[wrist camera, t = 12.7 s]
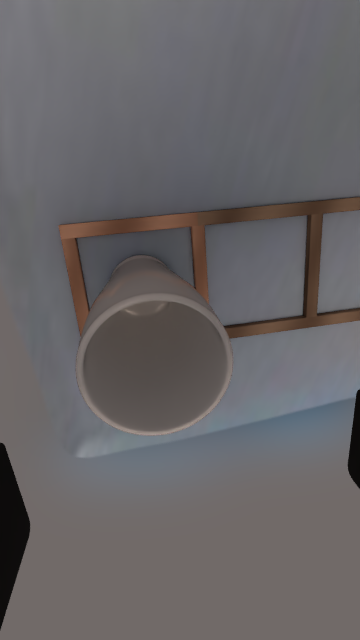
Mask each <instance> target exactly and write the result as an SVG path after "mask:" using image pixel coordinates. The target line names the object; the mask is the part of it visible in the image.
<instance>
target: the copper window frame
mask: <svg viewBox="0 0 360 640" xmlns="http://www.w3.org/2000/svg"><path fill="white" fill-rule="evenodd" d="M354 210H360V197H354V198H343V199H333V200H322V201H311V202H301V203H290V204H279V205H268V206H258V207H247V208H236V209H226V210H215V211H204V212H193V213H183V214H172V215H161V216H151V217H140V218H129V219H118V220H108V221H97V222H86V223H76V224H65V225H59V230H60V235H61V240H62V245H63V250H64V255H65V260H66V265H67V271H68V276H69V281H70V286H71V291H72V296H73V301H74V306H75V311H76V316H77V321H78V326H79V331H80V336H81V334H82V330H83V327H84V324H85V321H86V318H87V316H88V313H89V305H88V300H87V294H86V289H85V283H84V278H83V273H82V267H81V262H80V256H79V251H78V245H77V240H76V238H79V237H89V236H99V235H109V234H119V233H130V232H140V231H150V230H160V229H170V228H181V227H191V240H192V254H193V269H194V283H195V289H196V290H197V291H198V292H199V293H200V294H201V295H202V296H203V298H204V299H205V300H206V301H207V302H208V304H209V300H208V282H207V264H206V246H205V228H204V225H211V224H221V223H231V222H242V221H252V220H262V219H272V218H282V217H293V216H303V215H308V221H307V243H306V265H305V287H304V309H303V316H297V317H289V318H282V319H275V320H267V321H260V322H252V323H245V324H237V325H230V326H223V327H224V328H225V330H226V332H227V334H228V336H229V339H230V338H237V337H244V336H251V335H259V334H266V333H273V332H280V331H287V330H294V329H302V328H309V327H316V326H323V325H330V324H337V323H345V322H352V321H359V320H360V308H356V309H349V310H341V311H334V312H326V313H319V314H317V304H318V287H319V271H320V254H321V238H322V221H323V213H333V212H343V211H354Z"/></svg>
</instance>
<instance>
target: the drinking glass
mask: <svg viewBox="0 0 360 640" xmlns="http://www.w3.org/2000/svg"><path fill="white" fill-rule="evenodd" d="M232 371H233V351H232V346H231V342H230V339H229V336H228V334H227V332H226V330H225V328H224V327H223V325H222V323H221V322H220V320H219V318H218V317H217V315H216V314H215V312H214V311H213V309H212V308H211V306H210V305H209V304H208V302H207V301H206V300H205V299H204V298H203V296H202V295H201V294H200V293H199V292H198V291H197V290H196V289H195V288H194V287H193V286H191V285H190V284H189V283H188V282H187V281H185V280H184V279H182V278H181V277H180V276H178V275H177V274H175V273H174V272H172V271H171V270H170V269H169V268H168V267H167V266H166V265H165V264H164V263H163V262H162V261H160V260H158V259H157V258H154V257H151V256H147V255H137V256H132V257H129V258H127V259H125V260H124V261H122V262H121V263H120V264H119V265H118V266H117V267H116V268H115V269H114V271H113V273H112V275H111V277H110V280H109V281H108V282H107V284H106V285H105V287H104V288H103V289H102V291H101V292H100V294H99V295H98V297H97V298H96V300H95V301H94V303H93V305H92V307H91V309H90V311H89V313H88V316H87V318H86V321H85V324H84V327H83V330H82V334H81V338H80V342H79V347H78V352H77V357H76V378H77V383H78V387H79V390H80V392H81V394H82V397H83V399H84V400H85V402H86V404H87V405H88V406H89V408H90V409H91V410H92V411H93V412H94V413H95V414H96V415H97V416H98V417H99V418H100V419H102V420H103V421H104V422H106V423H107V424H109V425H111V426H112V427H115V428H117V429H119V430H122V431H124V432H128V433H132V434H137V435H146V436H155V435H164V434H169V433H174V432H177V431H180V430H183V429H185V428H187V427H189V426H191V425H193V424H195V423H197V422H198V421H200V420H201V419H203V418H204V417H205V416H206V415H208V414H209V413H210V412H211V411H212V410H213V409H214V408H215V407H216V405H217V404H218V403H219V402H220V400H221V399H222V397H223V396H224V394H225V392H226V390H227V388H228V385H229V383H230V380H231V376H232Z"/></svg>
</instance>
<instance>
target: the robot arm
mask: <svg viewBox="0 0 360 640" xmlns="http://www.w3.org/2000/svg"><path fill="white" fill-rule="evenodd" d="M348 471H349V474H350V476H351V478H352V479H353V481H354V482H355V483H356V484H357V486H358V487H359V488H360V389H359V390H358V391H357V394H356V403H355V411H354V419H353V427H352V435H351V443H350V451H349V459H348ZM29 533H30V521H29V517H28V514H27V511H26V508H25V505H24V502H23V499H22V496H21V493H20V490H19V487H18V484H17V481H16V478H15V475H14V472H13V469H12V466H11V463H10V460H9V457H8V454H7V451H6V448H5V445H4V444H3V443H0V629H1V626H2V623H3V619H4V616H5V613H6V609H7V606H8V603H9V600H10V597H11V593H12V590H13V587H14V584H15V580H16V577H17V574H18V570H19V567H20V564H21V561H22V557H23V554H24V551H25V548H26V544H27V541H28V538H29Z"/></svg>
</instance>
